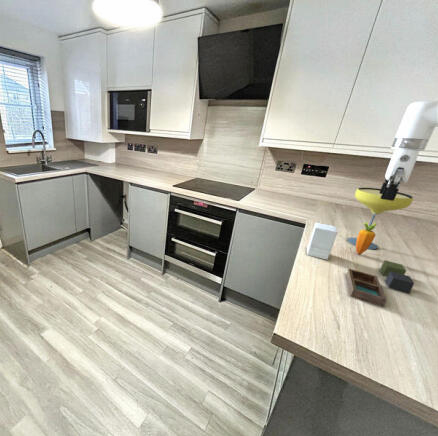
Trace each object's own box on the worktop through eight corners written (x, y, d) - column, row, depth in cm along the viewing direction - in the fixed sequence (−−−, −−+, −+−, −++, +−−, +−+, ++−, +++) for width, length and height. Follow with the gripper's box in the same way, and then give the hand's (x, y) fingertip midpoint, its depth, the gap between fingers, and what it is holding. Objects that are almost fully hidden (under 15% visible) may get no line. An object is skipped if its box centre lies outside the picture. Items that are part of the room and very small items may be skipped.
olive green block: (397, 273, 88) (402, 264, 87) (401, 280, 84) (406, 270, 83) (379, 269, 91) (384, 260, 89) (382, 275, 87) (387, 265, 85)
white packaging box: (326, 253, 101) (336, 226, 96) (327, 260, 95) (338, 232, 91) (306, 247, 105) (315, 221, 100) (306, 254, 99) (315, 227, 94)
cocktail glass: (394, 248, 108) (420, 195, 99) (378, 257, 99) (405, 200, 90) (348, 232, 122) (367, 186, 113) (331, 239, 114) (349, 189, 105)
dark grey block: (404, 285, 81) (409, 276, 80) (408, 293, 77) (414, 283, 76) (385, 280, 84) (389, 271, 82) (388, 287, 80) (393, 277, 78)
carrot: (349, 254, 101) (363, 222, 95) (352, 250, 104) (365, 219, 99) (364, 258, 98) (379, 225, 92) (366, 255, 101) (381, 223, 95)
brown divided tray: (374, 282, 82) (377, 276, 81) (383, 306, 71) (386, 299, 70) (346, 274, 86) (348, 268, 85) (350, 296, 75) (353, 289, 74)
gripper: (431, 147, 66) (404, 205, 72) (421, 145, 78) (398, 194, 84) (394, 144, 70) (371, 199, 77) (390, 143, 82) (370, 190, 89)
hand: (385, 196), depth 80 cm, fingers open, 9 cm apart
